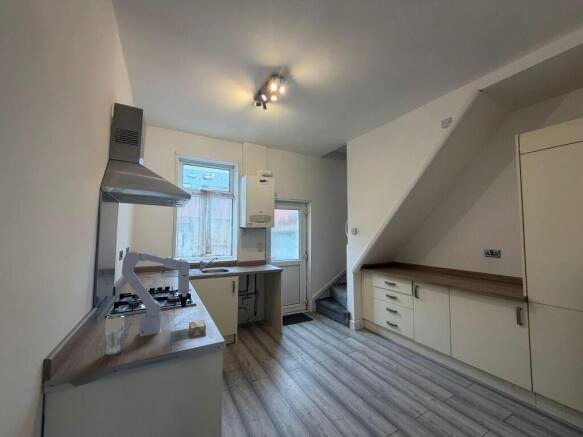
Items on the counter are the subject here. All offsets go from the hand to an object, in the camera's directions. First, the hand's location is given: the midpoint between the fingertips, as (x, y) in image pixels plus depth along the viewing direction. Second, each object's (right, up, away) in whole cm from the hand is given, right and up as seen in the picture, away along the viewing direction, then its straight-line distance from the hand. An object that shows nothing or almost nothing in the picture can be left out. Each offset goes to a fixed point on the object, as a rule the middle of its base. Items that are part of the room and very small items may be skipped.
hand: (183, 307), depth 136 cm
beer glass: (-17, -9, -30) cm, 35 cm away
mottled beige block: (+8, -7, -11) cm, 16 cm away
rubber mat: (+7, -10, -12) cm, 17 cm away
